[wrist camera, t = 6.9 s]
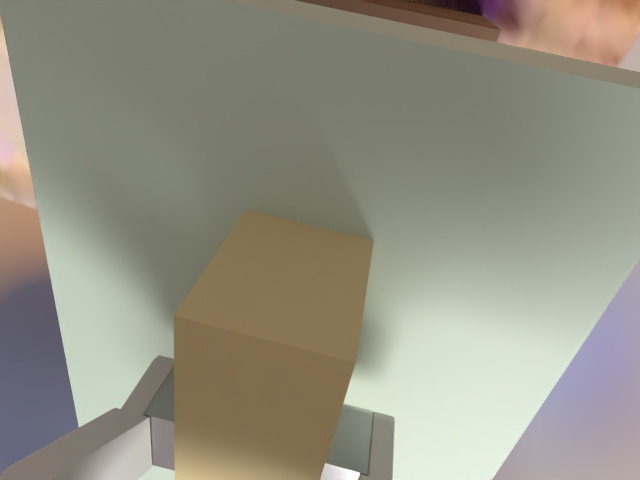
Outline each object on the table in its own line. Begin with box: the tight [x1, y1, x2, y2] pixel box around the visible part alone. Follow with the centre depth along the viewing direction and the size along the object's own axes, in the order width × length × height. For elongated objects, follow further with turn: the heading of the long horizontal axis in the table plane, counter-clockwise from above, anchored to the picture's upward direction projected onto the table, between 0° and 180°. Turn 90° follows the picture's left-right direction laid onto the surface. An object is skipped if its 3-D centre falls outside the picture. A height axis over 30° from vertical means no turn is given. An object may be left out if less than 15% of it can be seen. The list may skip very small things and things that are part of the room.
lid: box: [0, 0, 640, 480], centre depth 12 cm, size 17×13×6 cm
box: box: [296, 0, 501, 42], centre depth 29 cm, size 15×11×7 cm
